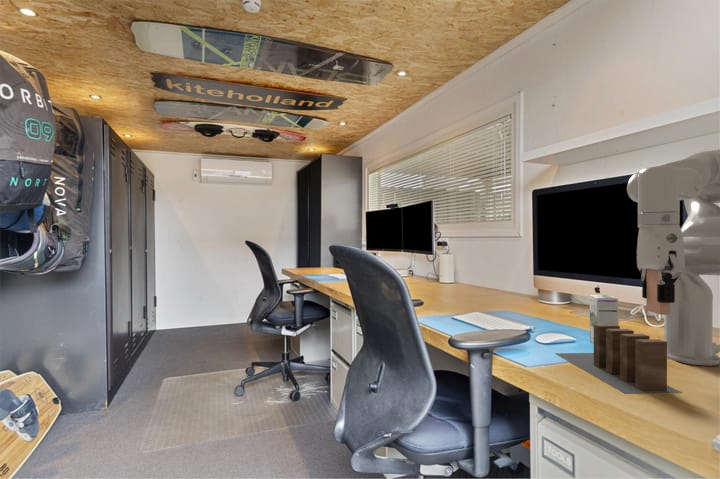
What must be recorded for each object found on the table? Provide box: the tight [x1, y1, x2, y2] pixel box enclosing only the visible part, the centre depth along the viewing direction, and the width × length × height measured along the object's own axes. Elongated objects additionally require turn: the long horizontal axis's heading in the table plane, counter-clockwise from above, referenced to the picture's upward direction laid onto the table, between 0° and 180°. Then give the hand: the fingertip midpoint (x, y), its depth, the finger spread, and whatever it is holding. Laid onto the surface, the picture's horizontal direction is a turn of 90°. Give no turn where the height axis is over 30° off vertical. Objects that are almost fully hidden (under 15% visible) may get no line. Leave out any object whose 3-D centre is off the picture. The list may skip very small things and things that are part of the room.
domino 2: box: [606, 328, 635, 375], centre depth 86 cm, size 2×5×10 cm, turn 91°
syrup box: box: [589, 294, 620, 345], centre depth 110 cm, size 6×6×14 cm
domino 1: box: [593, 324, 621, 368], centre depth 91 cm, size 2×5×10 cm, turn 91°
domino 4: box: [645, 269, 670, 316], centre depth 86 cm, size 2×5×10 cm, turn 171°
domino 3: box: [620, 333, 651, 383], centre depth 82 cm, size 2×5×10 cm, turn 91°
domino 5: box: [635, 338, 668, 391], centre depth 77 cm, size 2×5×10 cm, turn 91°
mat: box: [554, 352, 684, 395], centre depth 88 cm, size 12×26×1 cm, turn 1°
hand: (657, 299), depth 86 cm, fingers closed on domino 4, 4 cm apart
